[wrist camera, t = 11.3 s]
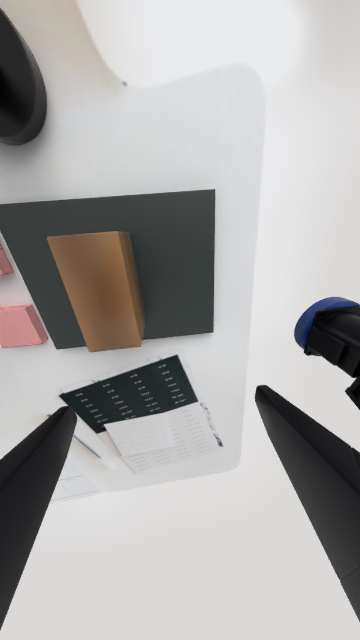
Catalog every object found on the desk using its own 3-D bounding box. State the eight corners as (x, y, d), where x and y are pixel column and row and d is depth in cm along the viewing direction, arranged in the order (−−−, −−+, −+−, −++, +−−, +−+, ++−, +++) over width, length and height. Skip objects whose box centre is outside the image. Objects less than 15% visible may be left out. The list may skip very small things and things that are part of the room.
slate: (212, 191, 15) (215, 189, 14) (211, 328, 20) (213, 332, 19) (-1, 207, 14) (-13, 205, 13) (61, 344, 19) (56, 349, 19)
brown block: (131, 232, 14) (117, 230, 10) (146, 319, 18) (141, 346, 13) (82, 236, 14) (45, 236, 10) (107, 323, 18) (89, 352, 13)
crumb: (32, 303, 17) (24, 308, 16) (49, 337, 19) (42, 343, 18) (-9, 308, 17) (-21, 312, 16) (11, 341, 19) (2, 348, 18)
